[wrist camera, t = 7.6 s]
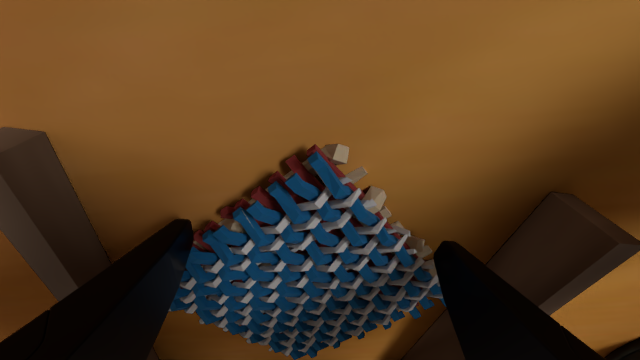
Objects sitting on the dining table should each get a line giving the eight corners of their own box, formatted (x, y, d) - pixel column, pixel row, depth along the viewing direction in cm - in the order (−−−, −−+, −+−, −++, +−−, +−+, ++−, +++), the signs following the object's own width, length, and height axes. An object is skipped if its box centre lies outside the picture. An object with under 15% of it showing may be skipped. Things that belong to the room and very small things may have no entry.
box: (573, 194, 10) (713, 292, 6) (407, 366, 19) (427, 439, 16) (3, 126, 7) (-269, 234, 4) (146, 366, 17) (108, 453, 13)
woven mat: (300, 332, 16) (299, 369, 15) (146, 256, 11) (118, 300, 10) (451, 267, 13) (472, 306, 11) (329, 115, 8) (335, 145, 6)
